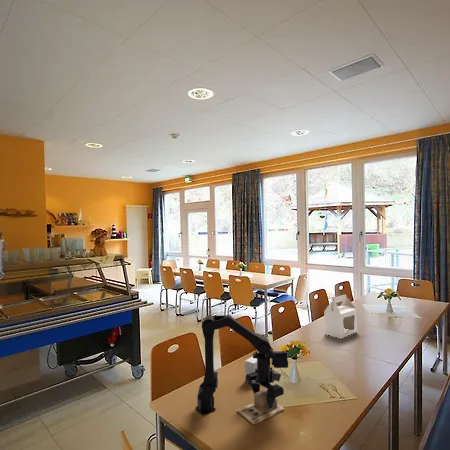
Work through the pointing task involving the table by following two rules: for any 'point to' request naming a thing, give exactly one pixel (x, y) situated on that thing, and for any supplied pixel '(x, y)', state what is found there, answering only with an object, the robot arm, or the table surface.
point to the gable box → (340, 317)
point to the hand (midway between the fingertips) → (264, 403)
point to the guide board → (256, 415)
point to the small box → (250, 365)
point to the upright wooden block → (261, 401)
